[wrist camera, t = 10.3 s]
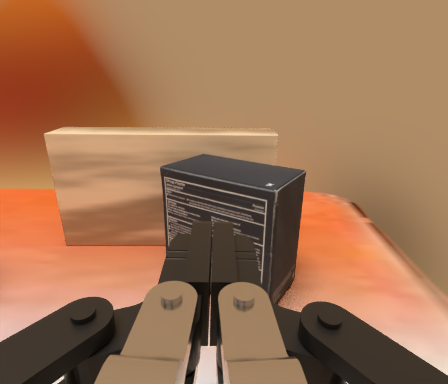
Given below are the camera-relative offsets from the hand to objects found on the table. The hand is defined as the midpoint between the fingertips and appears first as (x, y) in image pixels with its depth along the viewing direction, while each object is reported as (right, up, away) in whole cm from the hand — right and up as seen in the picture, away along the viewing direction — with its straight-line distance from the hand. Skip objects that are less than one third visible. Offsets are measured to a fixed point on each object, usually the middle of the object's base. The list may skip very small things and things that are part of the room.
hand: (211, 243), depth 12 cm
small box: (+1, -6, +17) cm, 18 cm away
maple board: (-6, -3, +23) cm, 24 cm away
